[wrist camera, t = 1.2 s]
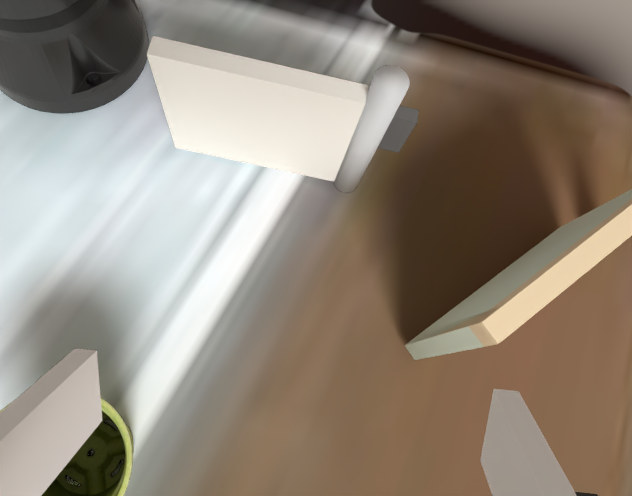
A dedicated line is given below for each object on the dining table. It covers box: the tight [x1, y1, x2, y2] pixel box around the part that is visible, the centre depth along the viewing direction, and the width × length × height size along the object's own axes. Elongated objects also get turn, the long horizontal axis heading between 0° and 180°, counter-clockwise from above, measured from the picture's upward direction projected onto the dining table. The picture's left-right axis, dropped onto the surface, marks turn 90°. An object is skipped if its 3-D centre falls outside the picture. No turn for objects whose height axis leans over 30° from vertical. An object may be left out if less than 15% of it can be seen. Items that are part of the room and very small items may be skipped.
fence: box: [147, 36, 419, 193], centre depth 40 cm, size 3×43×16 cm, turn 80°
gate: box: [404, 189, 632, 360], centre depth 38 cm, size 20×2×15 cm, turn 125°
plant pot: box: [0, 398, 133, 496], centre depth 33 cm, size 9×9×9 cm
